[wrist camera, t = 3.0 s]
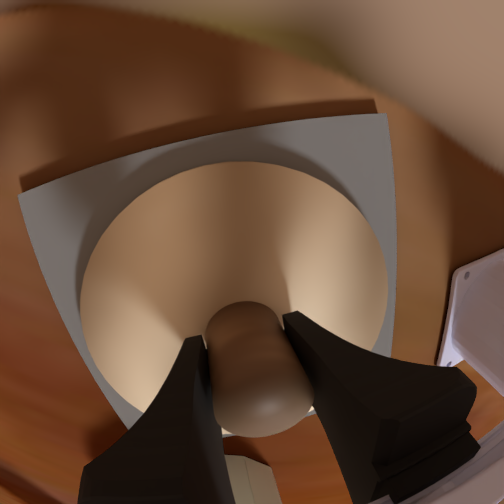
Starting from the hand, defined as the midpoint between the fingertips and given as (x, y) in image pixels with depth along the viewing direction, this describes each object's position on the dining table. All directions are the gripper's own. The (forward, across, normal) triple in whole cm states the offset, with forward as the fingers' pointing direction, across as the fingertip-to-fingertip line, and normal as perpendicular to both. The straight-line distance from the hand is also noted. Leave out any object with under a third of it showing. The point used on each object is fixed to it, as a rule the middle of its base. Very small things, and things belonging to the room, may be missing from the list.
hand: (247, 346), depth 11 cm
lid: (+2, 0, 0) cm, 2 cm away
